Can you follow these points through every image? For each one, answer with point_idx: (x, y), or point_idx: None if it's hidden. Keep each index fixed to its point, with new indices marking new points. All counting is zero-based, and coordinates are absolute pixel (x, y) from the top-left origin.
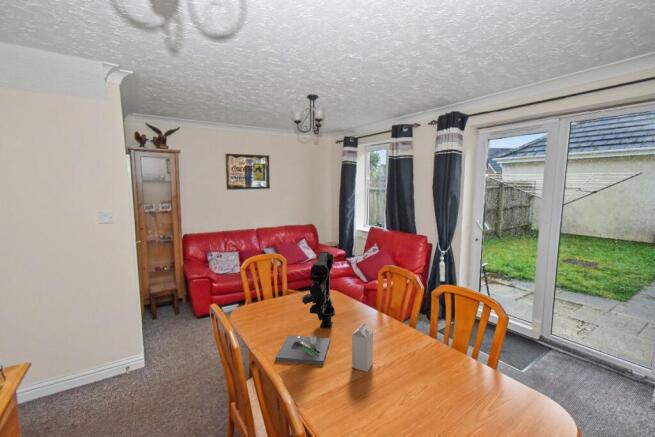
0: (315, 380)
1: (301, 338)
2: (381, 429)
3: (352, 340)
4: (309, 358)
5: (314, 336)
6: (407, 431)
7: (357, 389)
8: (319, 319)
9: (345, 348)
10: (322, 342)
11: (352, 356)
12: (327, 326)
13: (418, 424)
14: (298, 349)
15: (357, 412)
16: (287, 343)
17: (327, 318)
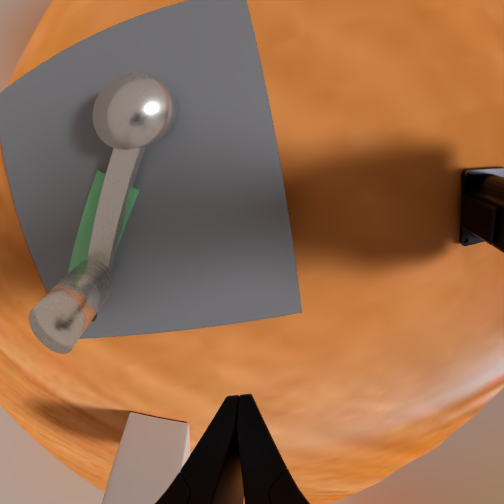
0: (11, 319)
1: (131, 148)
2: (29, 433)
3: (103, 502)
4: (47, 272)
5: (54, 341)
6: (54, 456)
7: (65, 417)
8: (225, 409)
9: (254, 378)
10: (228, 285)
11: (119, 447)
12: (462, 227)
13: (75, 468)
14: (81, 165)
15: (22, 410)
16: (124, 46)
17: (501, 245)
